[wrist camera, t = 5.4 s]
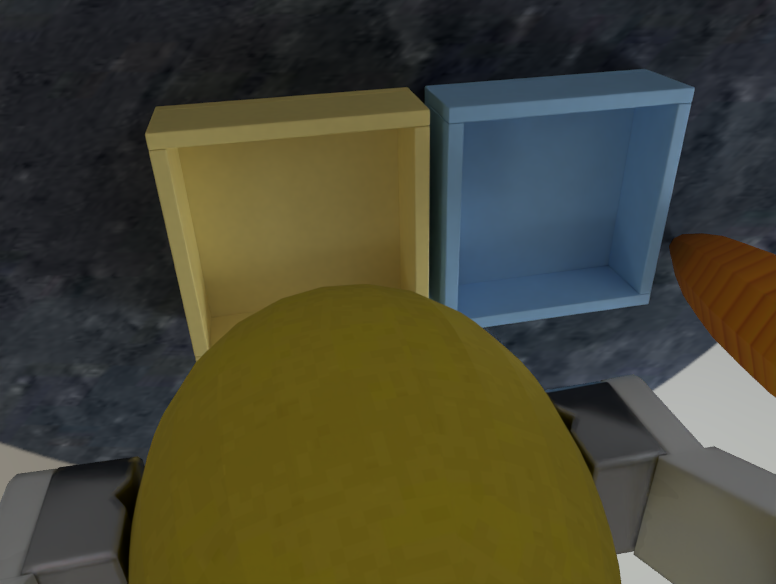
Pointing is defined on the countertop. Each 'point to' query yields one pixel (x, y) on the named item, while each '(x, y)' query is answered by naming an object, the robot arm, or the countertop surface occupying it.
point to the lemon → (365, 457)
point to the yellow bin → (291, 199)
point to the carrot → (732, 297)
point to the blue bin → (551, 191)
